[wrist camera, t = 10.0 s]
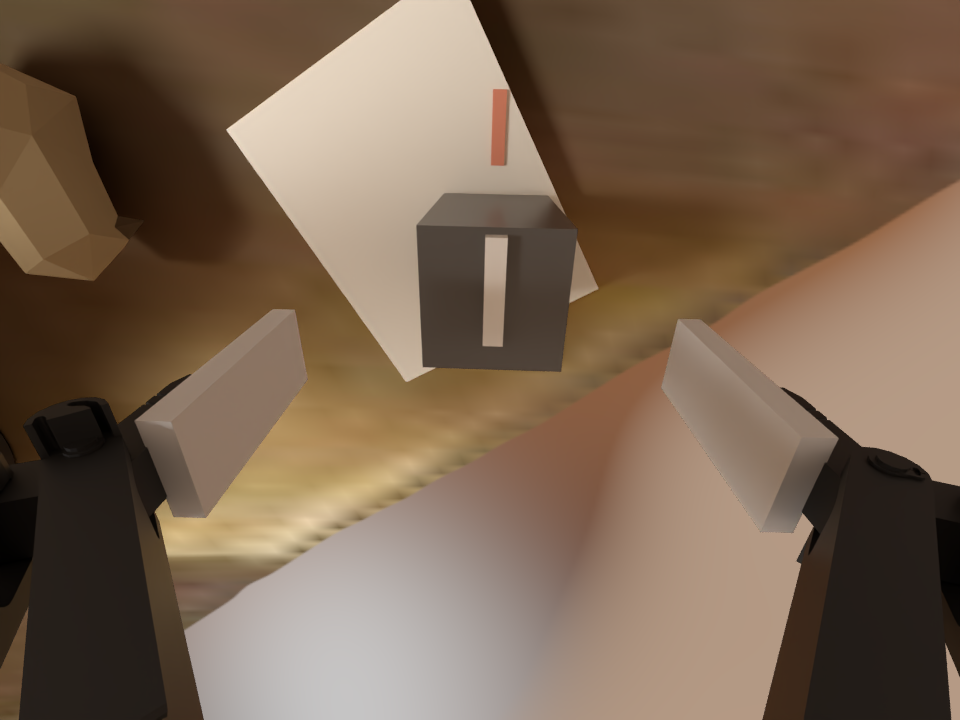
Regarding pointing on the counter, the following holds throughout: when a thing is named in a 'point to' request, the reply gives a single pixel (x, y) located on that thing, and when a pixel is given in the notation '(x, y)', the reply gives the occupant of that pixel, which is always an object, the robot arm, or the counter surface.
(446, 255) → the grey block with stripe
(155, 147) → the counter surface
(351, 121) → the panel
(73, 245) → the low-poly potato
